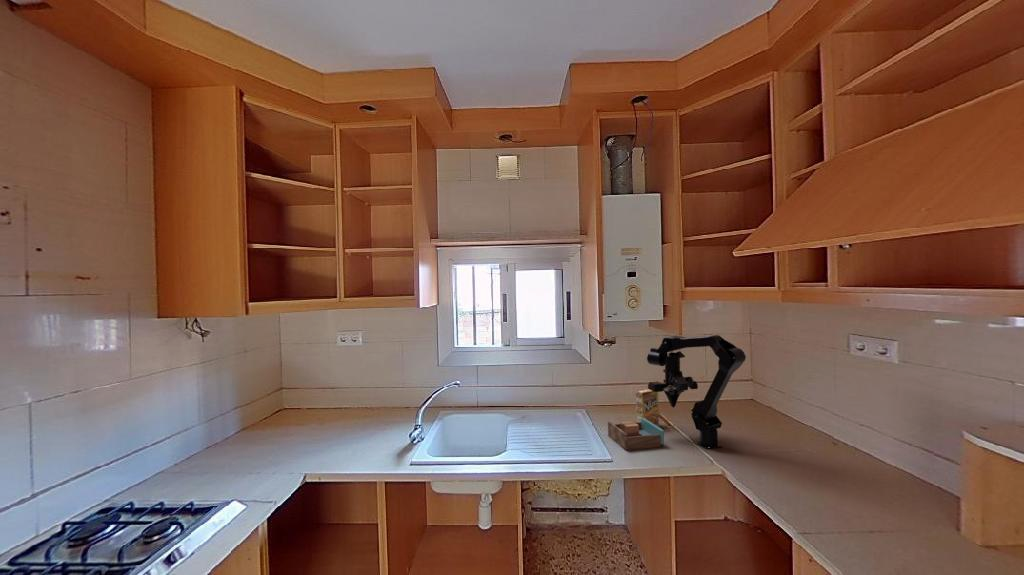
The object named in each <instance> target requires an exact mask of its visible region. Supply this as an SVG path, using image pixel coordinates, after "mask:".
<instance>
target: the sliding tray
mask: <svg viewBox="0 0 1024 575" xmlns="http://www.w3.org/2000/svg"><path fill="white" fill-rule="evenodd" d="M641 427H642V430H639V436H644V435H655V434H660V438H661V445H665V430H664V429H662V428H661V427H660V426H656V425H654V424H653V423H651V422H650V421H648V420H646V419H645V418H641Z"/></svg>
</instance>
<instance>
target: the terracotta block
mask: <svg viewBox="0 0 1024 575" xmlns="http://www.w3.org/2000/svg"><path fill="white" fill-rule="evenodd" d="M634 422H635V421H622V422H620V424H621V430H622V431H623V432H625V433H626V434H627V437H633V436H639V425H638V424H636V423H634Z"/></svg>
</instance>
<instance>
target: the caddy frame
mask: <svg viewBox="0 0 1024 575" xmlns="http://www.w3.org/2000/svg"><path fill="white" fill-rule="evenodd" d="M633 422H634V423H636V424H638V425H639V430H642V427H641V422H637V421H636V422H635V421H633ZM607 429H608V430H607V434H608V435H607V436H608V438H610V439H612V441H613V442H615V443H616V444H617V445H618V446H620V447H621V448H622V449H623V450H625V451H632V450H633V451H634V450H643V449H651V448H662V444H661V438H660V434H655V435H644V436H633V437H627V434H626V433H625V432H623V431H622V430H621V423H613V422H611V421H607Z"/></svg>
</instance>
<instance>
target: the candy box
mask: <svg viewBox="0 0 1024 575" xmlns="http://www.w3.org/2000/svg"><path fill="white" fill-rule="evenodd" d="M635 400H636V402H635V405H636V408H635V409H636V422H641V418H645V419H646V420H648V421H650V422H651V423H653V424H654V425H656V426H658V427H660V418H659V416H660V415H659V414H660V413H659V412H660V411H659V410H660V409H659V392H654V391H652V390H650V389H648V388H645V389H641V390H636V391H635Z"/></svg>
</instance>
